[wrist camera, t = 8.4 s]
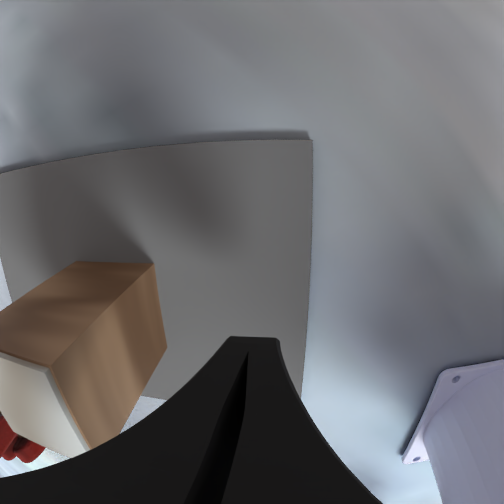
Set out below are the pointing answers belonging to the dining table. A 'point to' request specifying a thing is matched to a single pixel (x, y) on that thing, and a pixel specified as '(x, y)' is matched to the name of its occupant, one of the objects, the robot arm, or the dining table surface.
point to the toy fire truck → (17, 444)
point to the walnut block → (80, 353)
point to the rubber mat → (178, 239)
